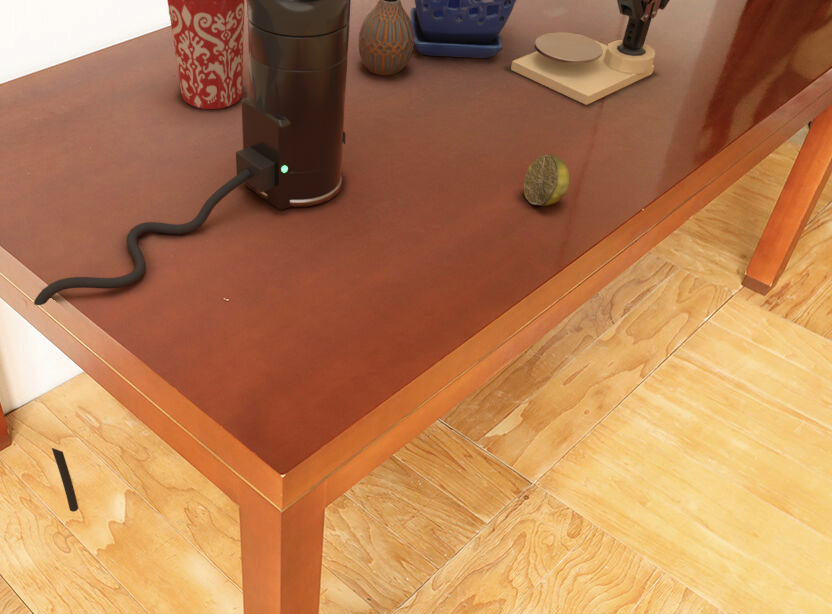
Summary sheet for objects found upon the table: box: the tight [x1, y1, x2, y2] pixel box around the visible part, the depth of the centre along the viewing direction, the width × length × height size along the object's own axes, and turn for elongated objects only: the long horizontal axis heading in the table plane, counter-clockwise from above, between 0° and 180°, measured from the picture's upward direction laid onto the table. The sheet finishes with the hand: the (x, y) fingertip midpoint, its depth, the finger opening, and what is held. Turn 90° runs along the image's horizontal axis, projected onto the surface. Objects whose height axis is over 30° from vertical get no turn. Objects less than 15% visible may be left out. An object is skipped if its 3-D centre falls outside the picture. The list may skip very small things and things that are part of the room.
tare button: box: [618, 44, 644, 56], centre depth 108 cm, size 3×3×2 cm
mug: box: [167, 0, 246, 110], centre depth 98 cm, size 13×9×14 cm
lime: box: [523, 154, 571, 207], centre depth 86 cm, size 4×5×5 cm
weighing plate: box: [534, 31, 603, 64], centre depth 107 cm, size 8×8×1 cm
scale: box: [510, 33, 656, 106], centre depth 109 cm, size 14×12×3 cm
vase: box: [358, 0, 415, 77], centre depth 105 cm, size 7×7×9 cm
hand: (631, 46), depth 108 cm, fingers closed
